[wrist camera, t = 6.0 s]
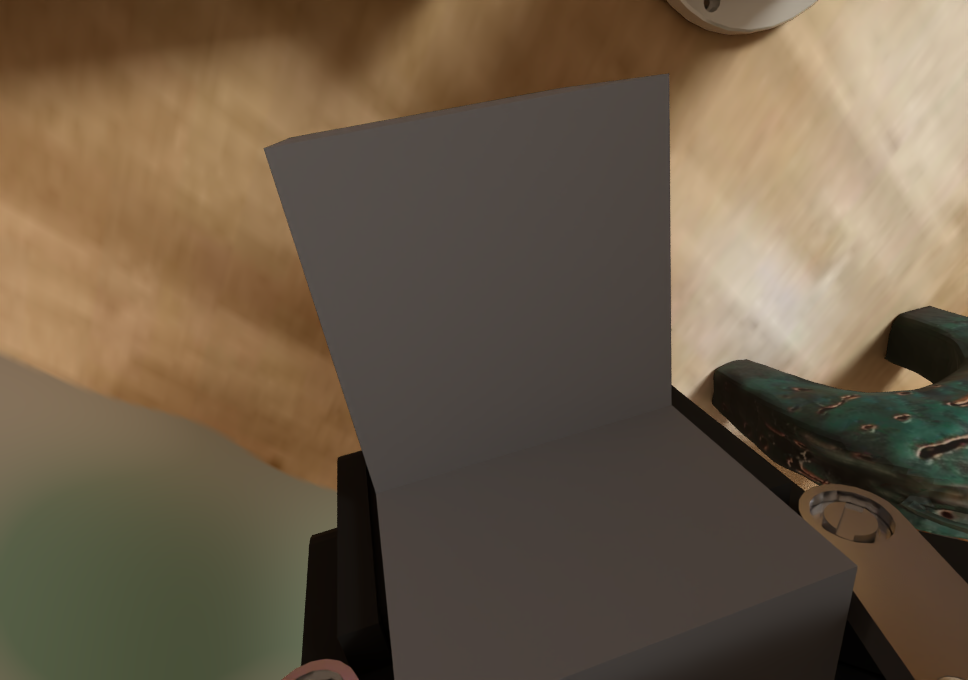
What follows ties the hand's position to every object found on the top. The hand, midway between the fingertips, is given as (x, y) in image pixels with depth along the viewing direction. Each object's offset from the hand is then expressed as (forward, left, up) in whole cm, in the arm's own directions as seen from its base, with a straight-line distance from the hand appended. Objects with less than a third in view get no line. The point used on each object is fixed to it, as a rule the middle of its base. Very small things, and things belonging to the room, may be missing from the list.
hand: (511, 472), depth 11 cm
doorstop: (0, -1, -2) cm, 2 cm away
